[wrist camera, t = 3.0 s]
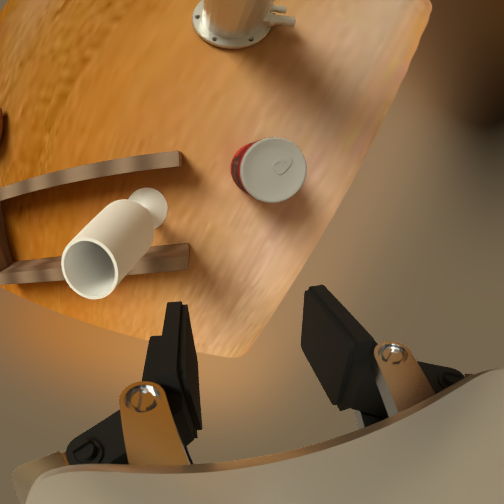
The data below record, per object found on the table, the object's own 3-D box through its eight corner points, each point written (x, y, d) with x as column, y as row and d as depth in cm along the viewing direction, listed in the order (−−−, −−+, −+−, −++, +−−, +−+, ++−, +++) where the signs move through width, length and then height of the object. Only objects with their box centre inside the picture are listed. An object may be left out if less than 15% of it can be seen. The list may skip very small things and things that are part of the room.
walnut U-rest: (181, 152, 37) (178, 150, 32) (189, 255, 42) (188, 269, 37) (-7, 191, 31) (-26, 197, 25) (9, 272, 36) (-7, 285, 31)
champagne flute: (132, 234, 40) (70, 316, 17) (121, 193, 37) (39, 236, 15) (172, 225, 40) (144, 302, 18) (162, 182, 38) (115, 211, 16)
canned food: (290, 162, 41) (319, 164, 30) (259, 202, 42) (279, 217, 32) (251, 132, 38) (269, 122, 28) (219, 173, 39) (226, 178, 29)
